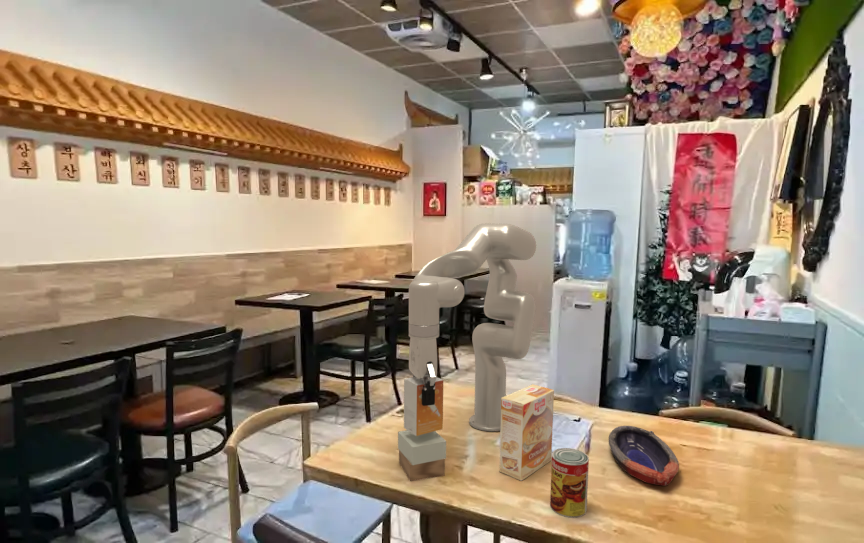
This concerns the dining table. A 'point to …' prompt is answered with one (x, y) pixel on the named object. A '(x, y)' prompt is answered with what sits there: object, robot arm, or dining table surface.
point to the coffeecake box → (526, 431)
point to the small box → (422, 407)
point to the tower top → (421, 447)
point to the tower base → (422, 468)
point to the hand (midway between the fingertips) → (423, 398)
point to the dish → (643, 455)
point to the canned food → (569, 482)
